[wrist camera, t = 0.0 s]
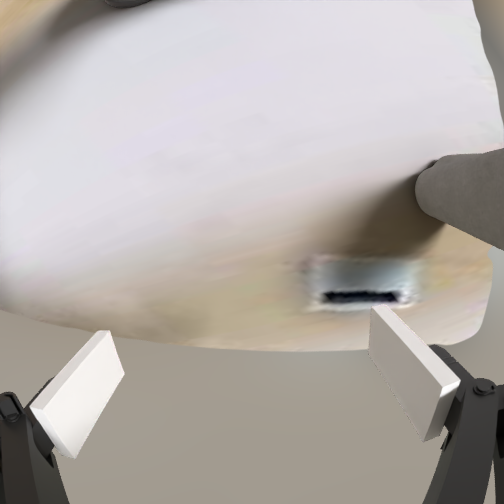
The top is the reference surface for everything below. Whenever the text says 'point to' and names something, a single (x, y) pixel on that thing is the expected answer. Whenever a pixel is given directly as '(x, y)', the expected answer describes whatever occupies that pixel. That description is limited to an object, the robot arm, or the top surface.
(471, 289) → the top surface
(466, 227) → the vase
